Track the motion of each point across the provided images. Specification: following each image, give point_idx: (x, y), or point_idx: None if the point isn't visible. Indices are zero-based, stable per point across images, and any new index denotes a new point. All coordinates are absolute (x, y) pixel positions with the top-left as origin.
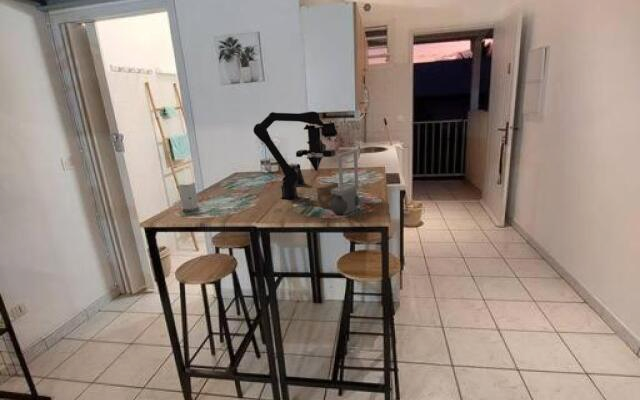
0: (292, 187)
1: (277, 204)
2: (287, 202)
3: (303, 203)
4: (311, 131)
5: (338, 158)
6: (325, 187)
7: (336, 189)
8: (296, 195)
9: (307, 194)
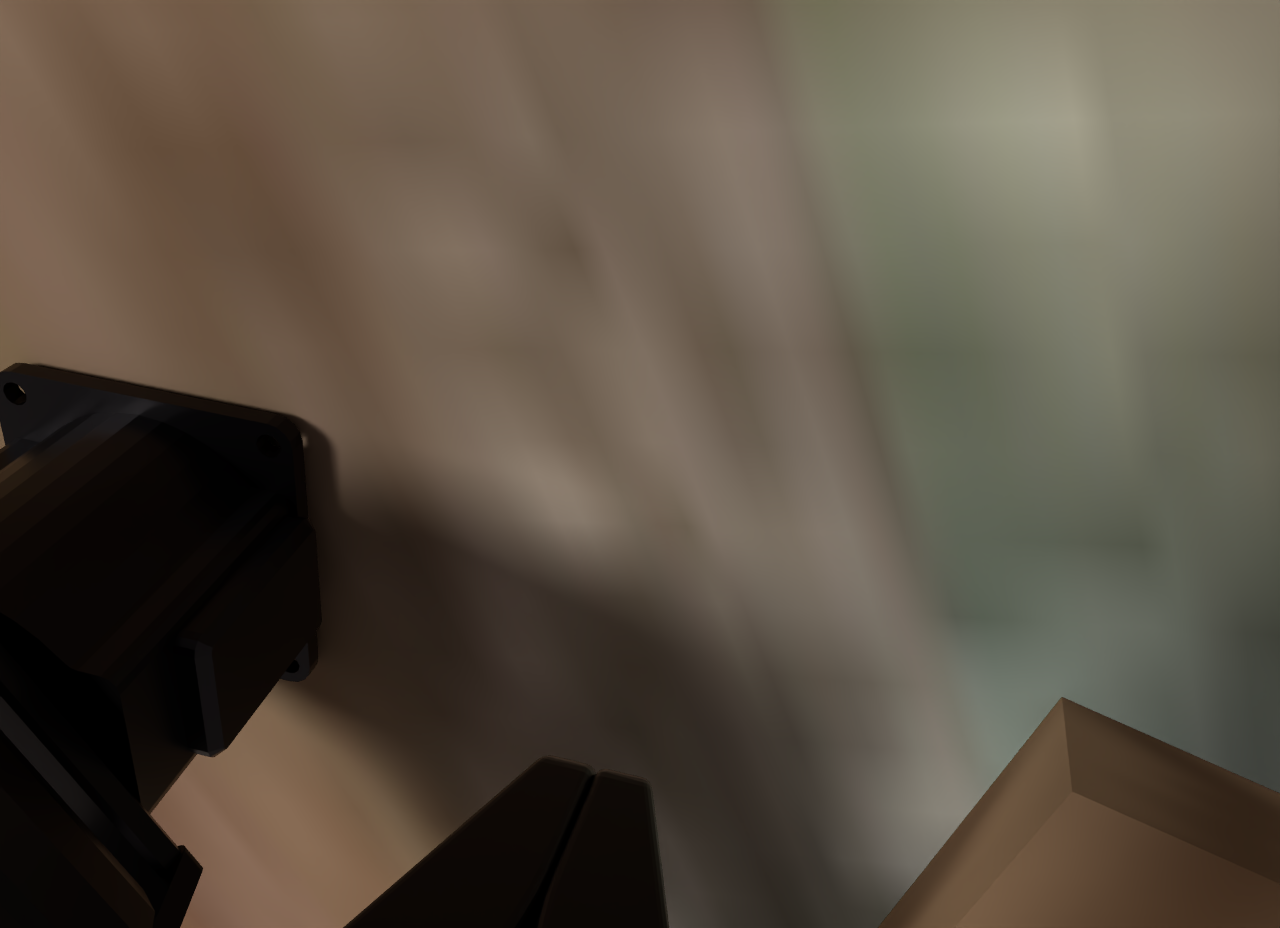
0: (163, 796)
1: (235, 883)
2: (337, 807)
3: (675, 890)
4: None
5: None
6: None
7: None
8: (309, 561)
9: (457, 249)
